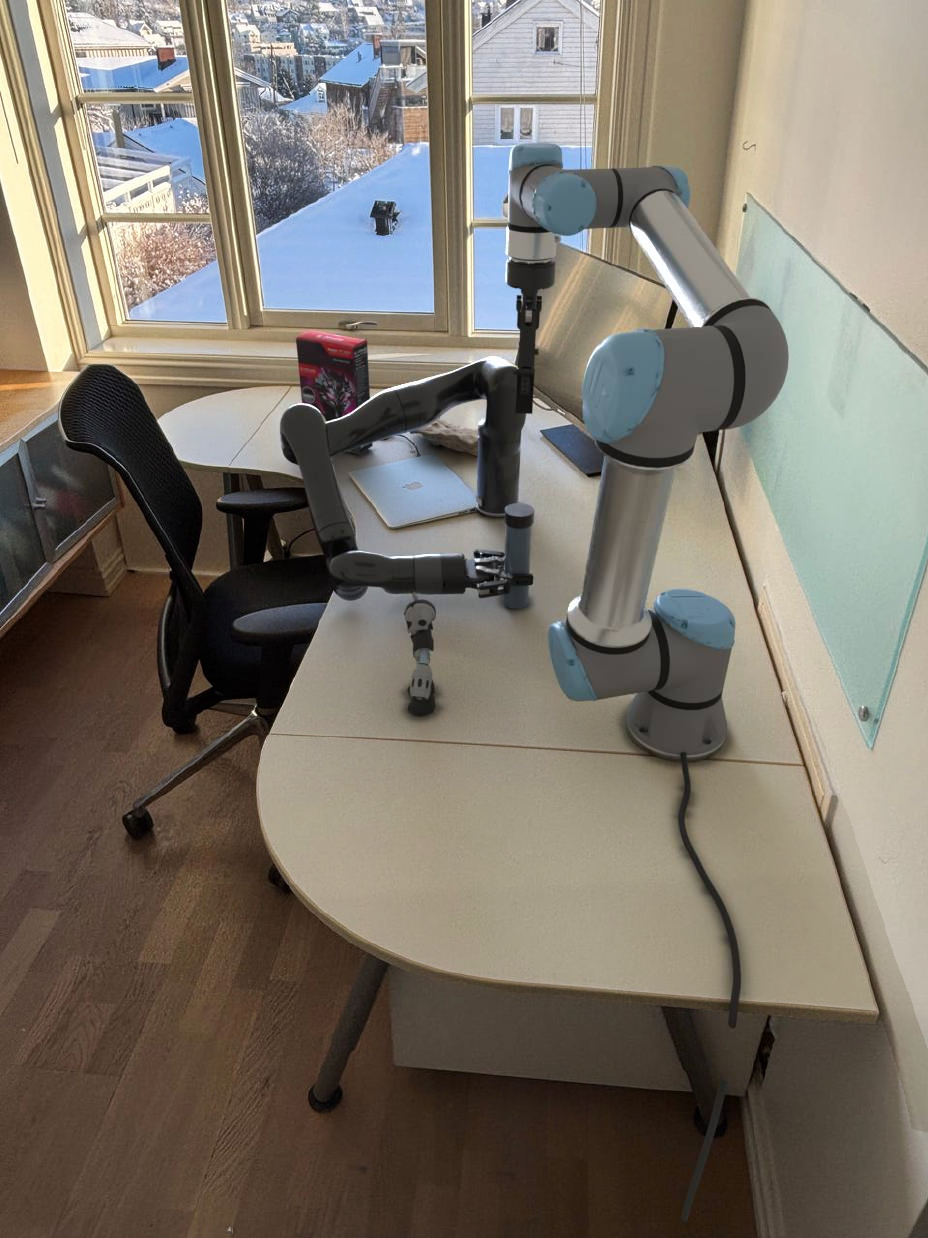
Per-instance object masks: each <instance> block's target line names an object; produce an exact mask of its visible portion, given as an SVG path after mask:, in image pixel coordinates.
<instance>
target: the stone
mask: <svg viewBox="0 0 928 1238" xmlns="http://www.w3.org/2000/svg"><path fill="white" fill-rule="evenodd" d="M409 434H411V435H414V434H416V435H421V436H422V437H423V438H424V439H425V440H429V441H430V443H431V444H432V445H434V446H443V447H445V448H446V449H447V448H448V449H452V450H454V451H457V452H462V453H464V452H465V453H468V454H470V455H473V456H476V457H478V428H477V429H472V428H468V427H461V426H456V425H455V424H453V423H450V422H448V421H446V420H445V419H441V417H439V418H438V419H437V420H435V421H434V422H433V423H431V424H429V425H428V426H425V427H423V428H420V429H417V430H414V431H410V432H409Z"/></svg>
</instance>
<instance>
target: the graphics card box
mask: <svg viewBox="0 0 928 1238" xmlns="http://www.w3.org/2000/svg"><path fill="white" fill-rule="evenodd" d="M295 344H296V355H297V364H298V365H297V366H298V375H299V385H300V397H301V404H308V405H312V406H314V407H315V408H317V409H318V410H319V411H320V412H321V413H322V414H323V416H324V417H325V419H326V422H328V421H332V420H335V419H338V418H341V417H343V416H346V415H347V414H349V413H351V412H352V411H354V410H355V409H357V408H358V407H359V406H361V405H362V404H363V403H365V402H366V401H367V400H369V399H370V398H371V393H370V391H371V390H370V373H369V372H370V371H369V352H368V339H367V338H357V337H352V336H347V335H346V336H345V335H340V334H335V333H329V332H324V331H319V330H314V329H309V330H306V331H304V332H302V333H299V335H298V336H297V337H295ZM373 445H374V442H373V443H369V444H366V445H363V446H359V447H356V448H354V449H351V450H348V451H346V452H347V453H351V454H355V455H360V454H362V453H364V452H366V451H367V450H369V449H370V448H372V447H373Z"/></svg>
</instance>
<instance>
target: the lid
mask: <svg viewBox="0 0 928 1238" xmlns="http://www.w3.org/2000/svg"><path fill="white" fill-rule="evenodd" d="M503 520H504V525H505V524H506V525H508V526H510V527H513V528H527V527H530V526H531V525H532V526H533V525H534V522H535V508H534V507H533V506H532V505H530V504H527V503H522V502H518V503H514V504H510V505H508V506H506V508H505V516H504V517H503Z"/></svg>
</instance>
